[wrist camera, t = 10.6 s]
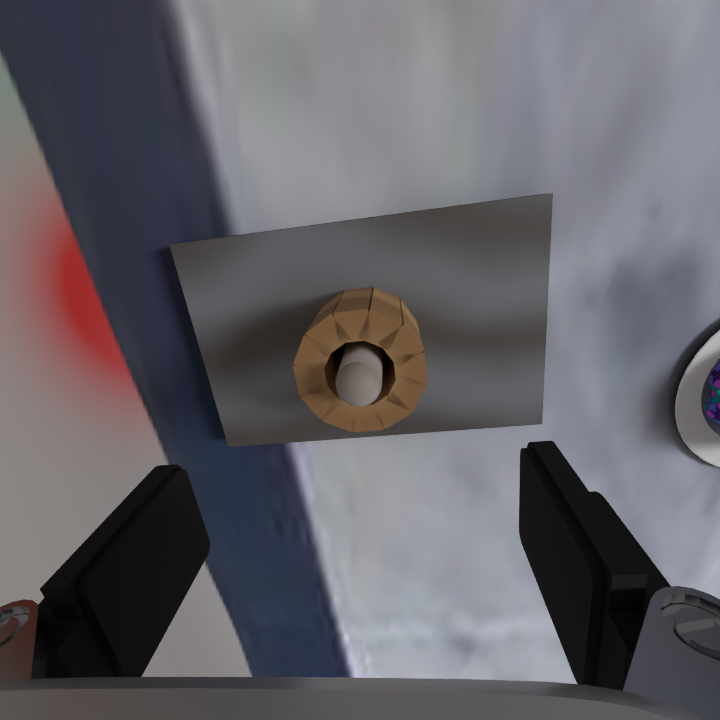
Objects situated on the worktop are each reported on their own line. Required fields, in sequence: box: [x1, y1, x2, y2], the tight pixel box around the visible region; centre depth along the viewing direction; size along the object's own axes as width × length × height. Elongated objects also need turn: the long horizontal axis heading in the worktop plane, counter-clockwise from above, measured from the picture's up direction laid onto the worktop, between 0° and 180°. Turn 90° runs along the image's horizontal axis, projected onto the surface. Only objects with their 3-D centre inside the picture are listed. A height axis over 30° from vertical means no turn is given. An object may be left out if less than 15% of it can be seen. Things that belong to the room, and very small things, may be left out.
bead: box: [293, 287, 427, 432], centre depth 20 cm, size 6×6×5 cm
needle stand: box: [170, 193, 553, 447], centre depth 20 cm, size 13×20×8 cm, turn 97°
